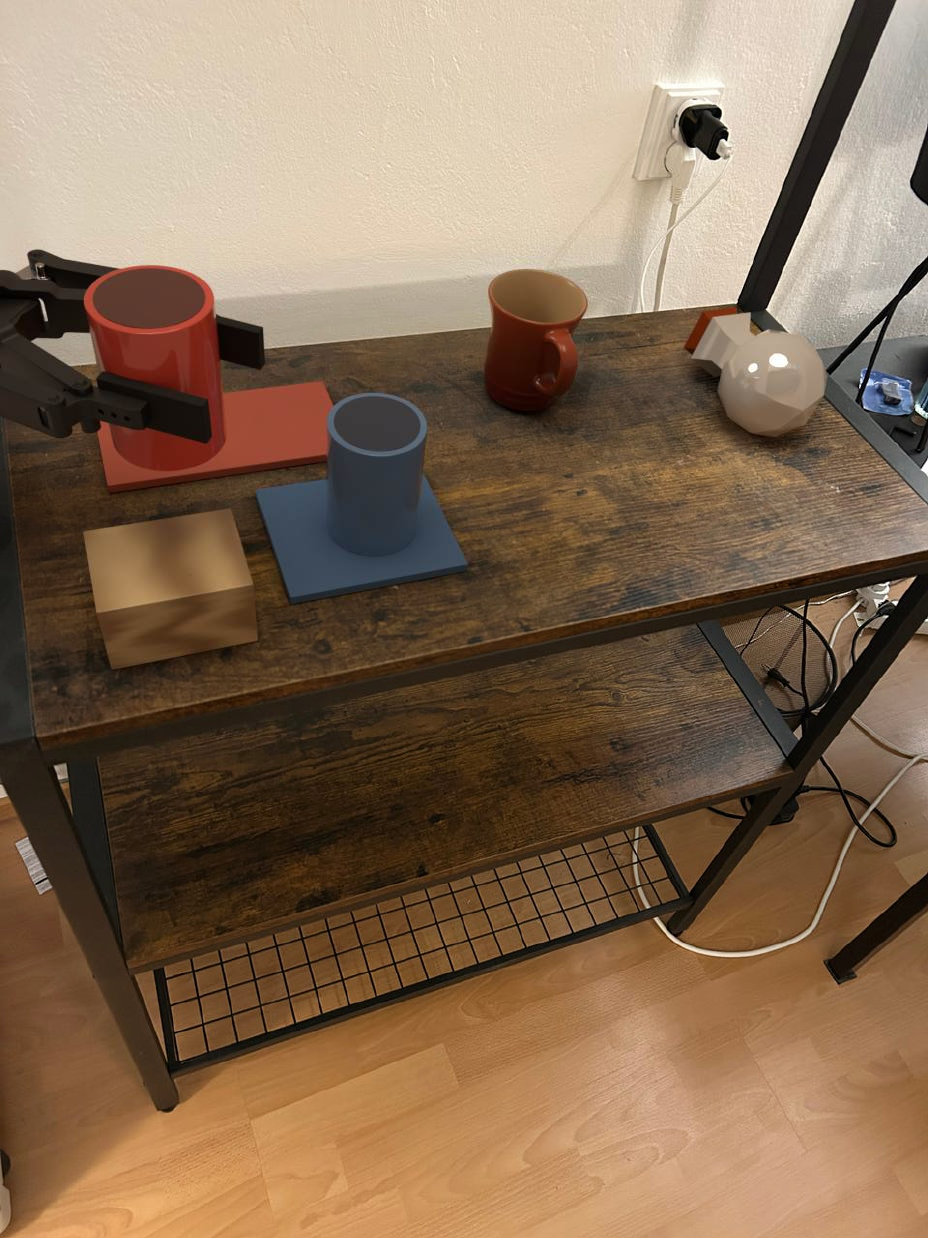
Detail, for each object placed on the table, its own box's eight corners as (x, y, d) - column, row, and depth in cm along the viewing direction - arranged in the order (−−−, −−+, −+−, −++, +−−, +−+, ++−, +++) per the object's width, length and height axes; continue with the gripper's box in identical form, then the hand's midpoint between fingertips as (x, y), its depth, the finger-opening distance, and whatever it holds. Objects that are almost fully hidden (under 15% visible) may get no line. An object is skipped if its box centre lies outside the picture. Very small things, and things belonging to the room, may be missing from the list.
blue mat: (290, 604, 72) (290, 597, 71) (255, 496, 79) (254, 489, 78) (467, 571, 76) (468, 563, 75) (418, 471, 83) (419, 464, 82)
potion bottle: (770, 474, 90) (686, 394, 100) (860, 409, 89) (765, 334, 99) (743, 412, 83) (656, 332, 93) (839, 339, 82) (740, 267, 92)
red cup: (120, 479, 60) (90, 339, 52) (106, 408, 64) (76, 268, 57) (237, 462, 62) (224, 325, 55) (216, 395, 66) (202, 258, 59)
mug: (460, 371, 93) (473, 273, 85) (542, 360, 96) (562, 264, 88) (509, 450, 86) (528, 351, 78) (596, 435, 89) (622, 338, 81)
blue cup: (339, 563, 74) (342, 462, 66) (316, 500, 78) (315, 398, 70) (429, 547, 76) (441, 447, 68) (401, 487, 80) (409, 386, 73)
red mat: (109, 493, 77) (107, 485, 76) (94, 416, 83) (92, 408, 82) (352, 457, 83) (352, 450, 82) (322, 387, 89) (322, 380, 88)
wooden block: (111, 670, 66) (96, 612, 61) (98, 590, 70) (83, 531, 66) (258, 641, 69) (253, 584, 64) (236, 565, 73) (230, 507, 69)
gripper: (-1, 271, 70) (298, 348, 68) (-197, 436, 57) (166, 537, 55) (-30, 167, 64) (296, 247, 62) (-254, 324, 51) (148, 432, 49)
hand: (235, 383), depth 59 cm, fingers closed on red cup, 7 cm apart
